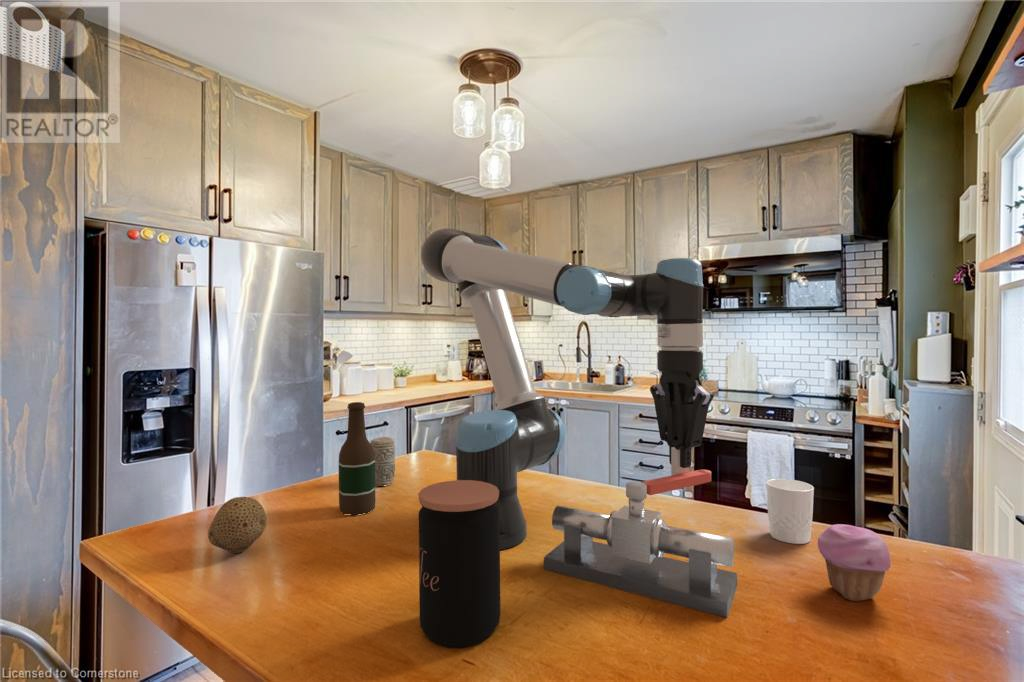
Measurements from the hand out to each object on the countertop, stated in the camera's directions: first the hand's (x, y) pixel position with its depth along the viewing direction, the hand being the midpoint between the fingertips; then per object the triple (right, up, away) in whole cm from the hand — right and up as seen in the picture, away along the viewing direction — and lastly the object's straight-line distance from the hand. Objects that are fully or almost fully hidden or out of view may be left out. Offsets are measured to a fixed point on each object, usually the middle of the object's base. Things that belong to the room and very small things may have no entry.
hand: (680, 484), depth 87 cm
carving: (-63, -13, +44) cm, 78 cm away
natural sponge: (-78, -13, +3) cm, 79 cm away
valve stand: (-9, -13, -7) cm, 17 cm away
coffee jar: (-36, -13, -20) cm, 44 cm away
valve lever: (-3, 0, -4) cm, 5 cm away
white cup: (+23, -12, +8) cm, 27 cm away
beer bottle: (-64, -13, +25) cm, 69 cm away
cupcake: (+21, -13, -13) cm, 28 cm away
